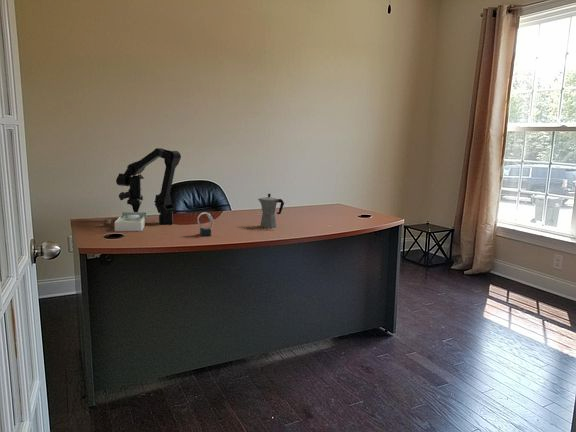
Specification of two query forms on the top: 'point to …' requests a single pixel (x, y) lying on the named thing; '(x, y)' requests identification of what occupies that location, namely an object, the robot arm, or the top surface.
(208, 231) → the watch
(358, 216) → the top surface
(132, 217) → the dome
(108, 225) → the stand
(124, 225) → the shallow white bin
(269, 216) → the coffeepot
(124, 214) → the drawer
